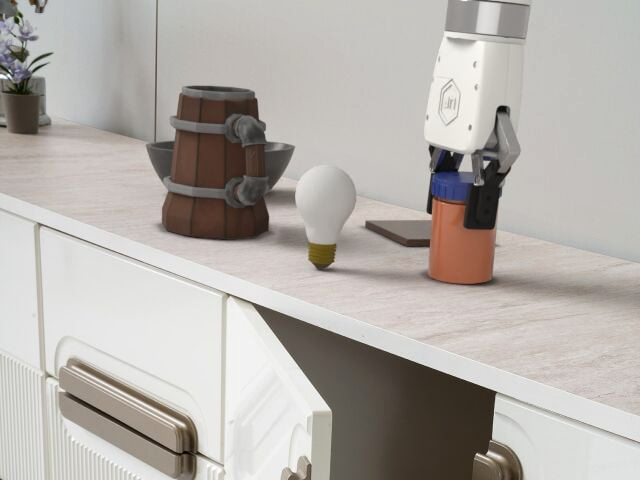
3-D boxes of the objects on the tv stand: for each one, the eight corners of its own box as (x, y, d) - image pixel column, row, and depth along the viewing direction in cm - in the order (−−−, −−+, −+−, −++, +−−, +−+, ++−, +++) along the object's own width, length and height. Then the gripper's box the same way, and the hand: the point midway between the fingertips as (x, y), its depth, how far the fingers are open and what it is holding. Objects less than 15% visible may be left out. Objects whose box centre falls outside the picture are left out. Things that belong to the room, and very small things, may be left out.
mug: (144, 221, 127) (145, 81, 122) (237, 217, 134) (242, 84, 128) (208, 250, 116) (213, 97, 110) (307, 244, 122) (317, 99, 116)
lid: (419, 190, 110) (420, 172, 110) (479, 187, 113) (480, 170, 112) (452, 203, 105) (453, 184, 104) (514, 199, 107) (516, 181, 106)
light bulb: (300, 259, 115) (307, 158, 111) (356, 266, 113) (365, 164, 109) (283, 270, 109) (289, 165, 105) (341, 278, 108) (350, 171, 104)
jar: (471, 265, 116) (478, 177, 112) (504, 280, 111) (513, 188, 107) (416, 270, 114) (422, 180, 110) (447, 286, 108) (454, 192, 104)
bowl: (313, 197, 151) (316, 150, 149) (176, 206, 138) (177, 154, 135) (259, 183, 160) (261, 138, 157) (124, 190, 146) (124, 141, 144)
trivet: (445, 226, 138) (446, 219, 138) (491, 245, 129) (492, 238, 129) (364, 227, 134) (365, 220, 134) (406, 246, 125) (407, 239, 124)
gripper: (407, 17, 109) (386, 204, 115) (500, 24, 94) (470, 239, 101) (474, 24, 112) (449, 206, 118) (575, 32, 97) (540, 240, 104)
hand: (459, 219), depth 109 cm, fingers closed on lid, 6 cm apart
